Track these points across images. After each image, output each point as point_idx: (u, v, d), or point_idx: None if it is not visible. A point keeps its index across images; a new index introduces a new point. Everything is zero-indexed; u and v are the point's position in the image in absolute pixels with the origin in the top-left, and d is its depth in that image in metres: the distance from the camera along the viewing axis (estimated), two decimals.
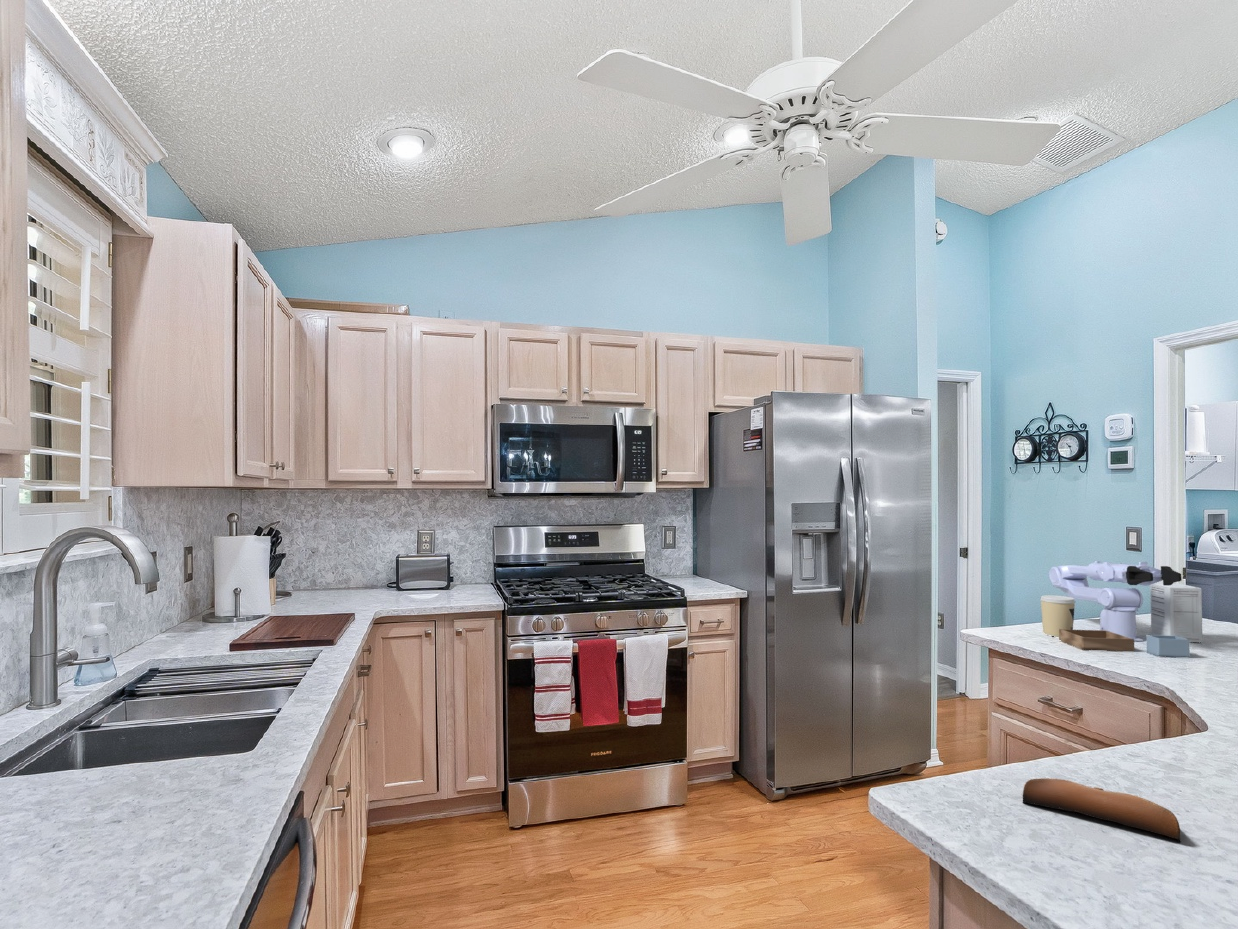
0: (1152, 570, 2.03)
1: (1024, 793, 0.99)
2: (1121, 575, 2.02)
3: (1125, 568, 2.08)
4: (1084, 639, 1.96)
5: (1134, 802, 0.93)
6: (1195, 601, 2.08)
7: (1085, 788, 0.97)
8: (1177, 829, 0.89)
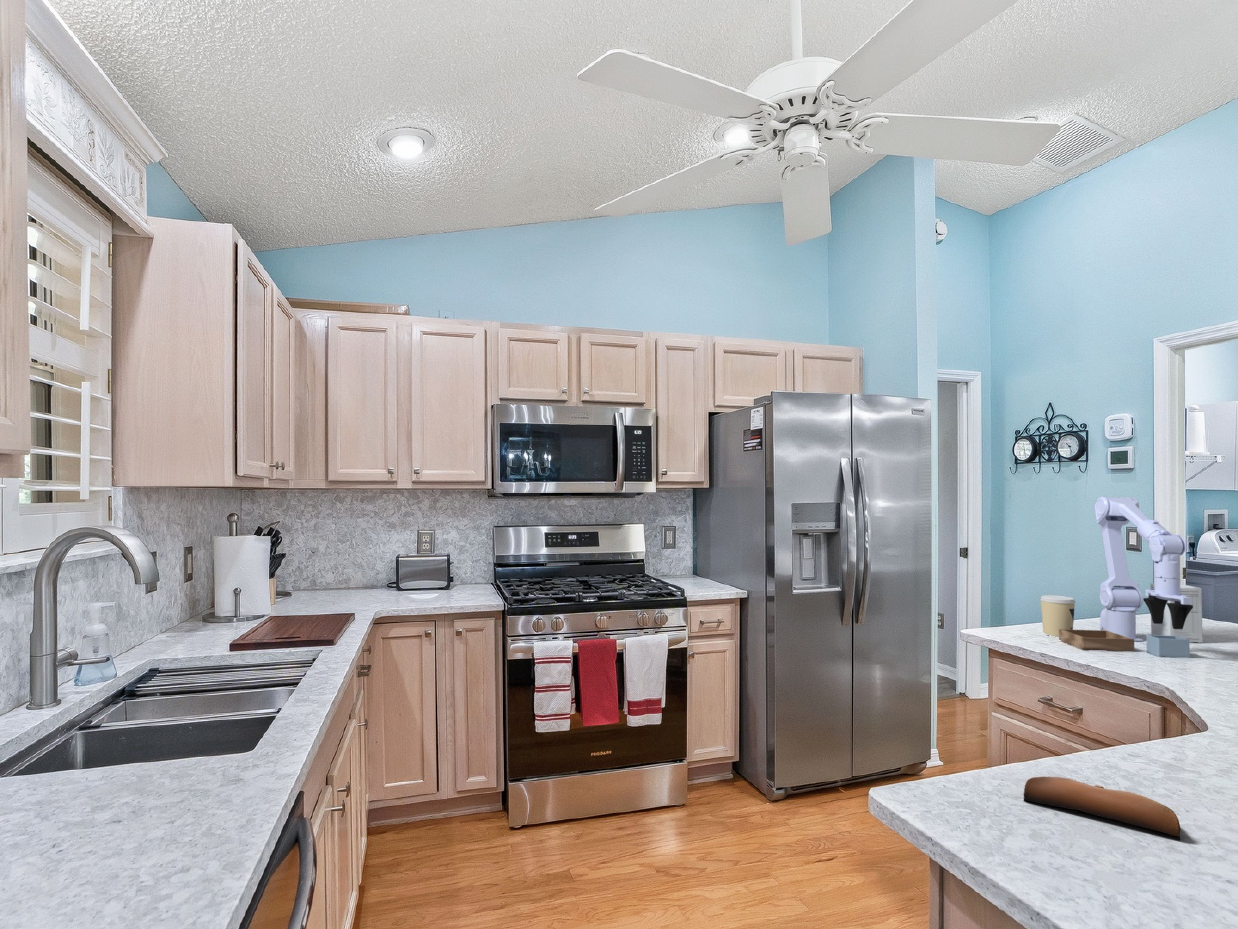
0: None
1: (1025, 791, 1.00)
2: None
3: None
4: (1084, 639, 1.96)
5: (1134, 800, 0.94)
6: (1195, 601, 2.08)
7: (1086, 786, 0.98)
8: (1177, 827, 0.90)
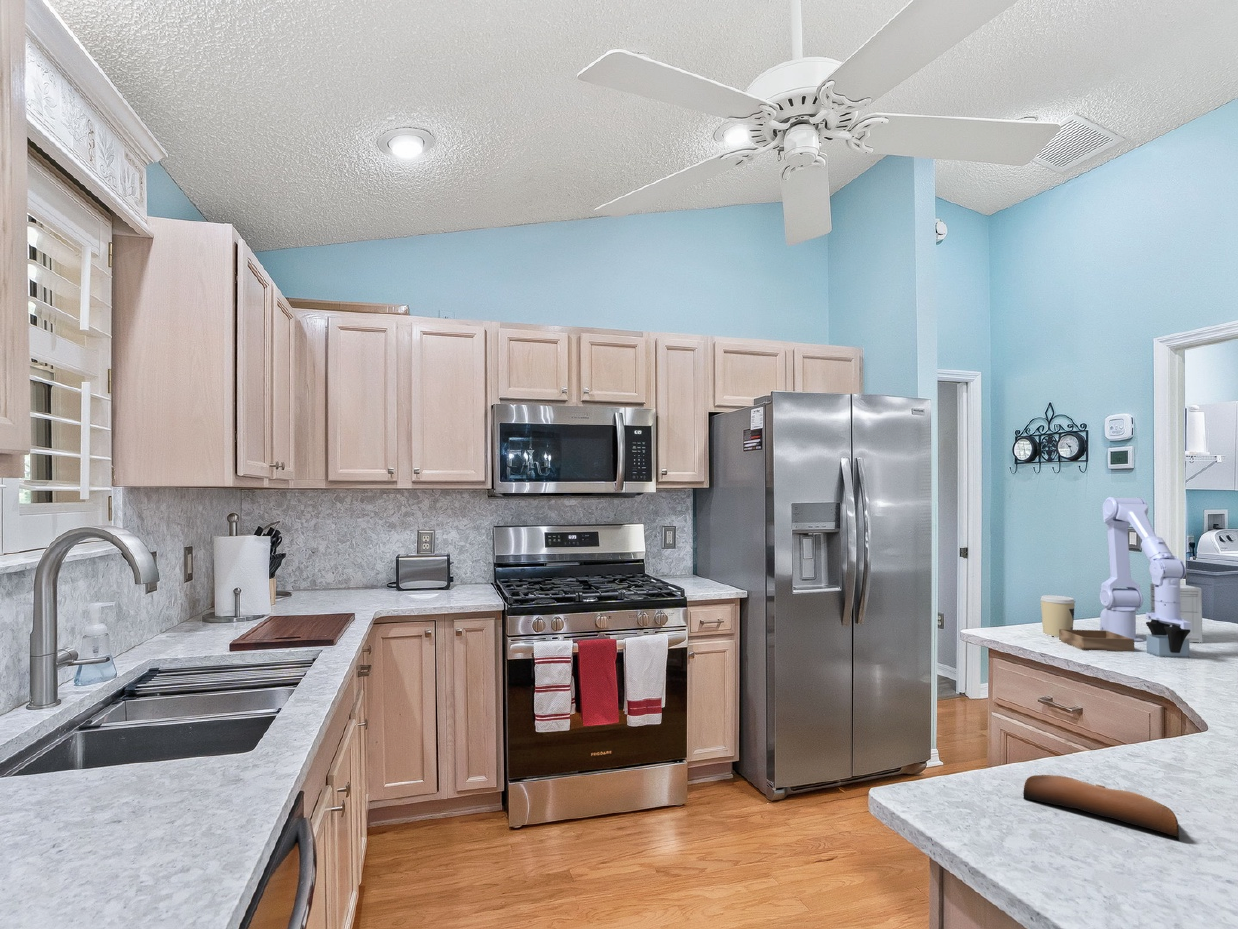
0: (1167, 621, 1.90)
1: (1025, 789, 1.01)
2: None
3: None
4: (1084, 639, 1.96)
5: (1134, 799, 0.94)
6: (1195, 601, 2.08)
7: (1086, 785, 0.98)
8: (1176, 826, 0.90)
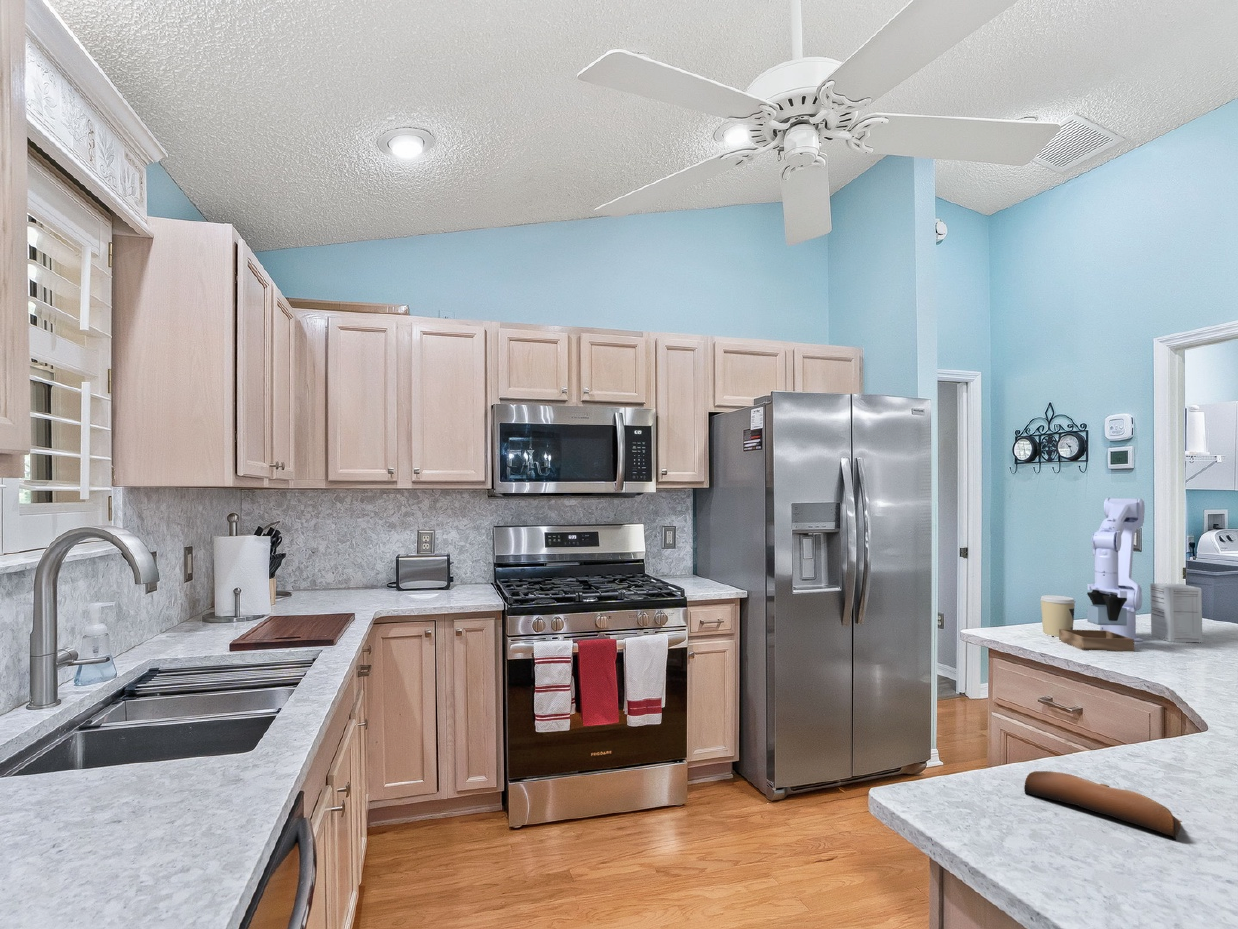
0: (1106, 591, 1.99)
1: (1026, 784, 1.03)
2: None
3: None
4: (1084, 639, 1.96)
5: (1133, 798, 0.94)
6: (1195, 601, 2.08)
7: (1087, 783, 0.99)
8: (1172, 826, 0.90)
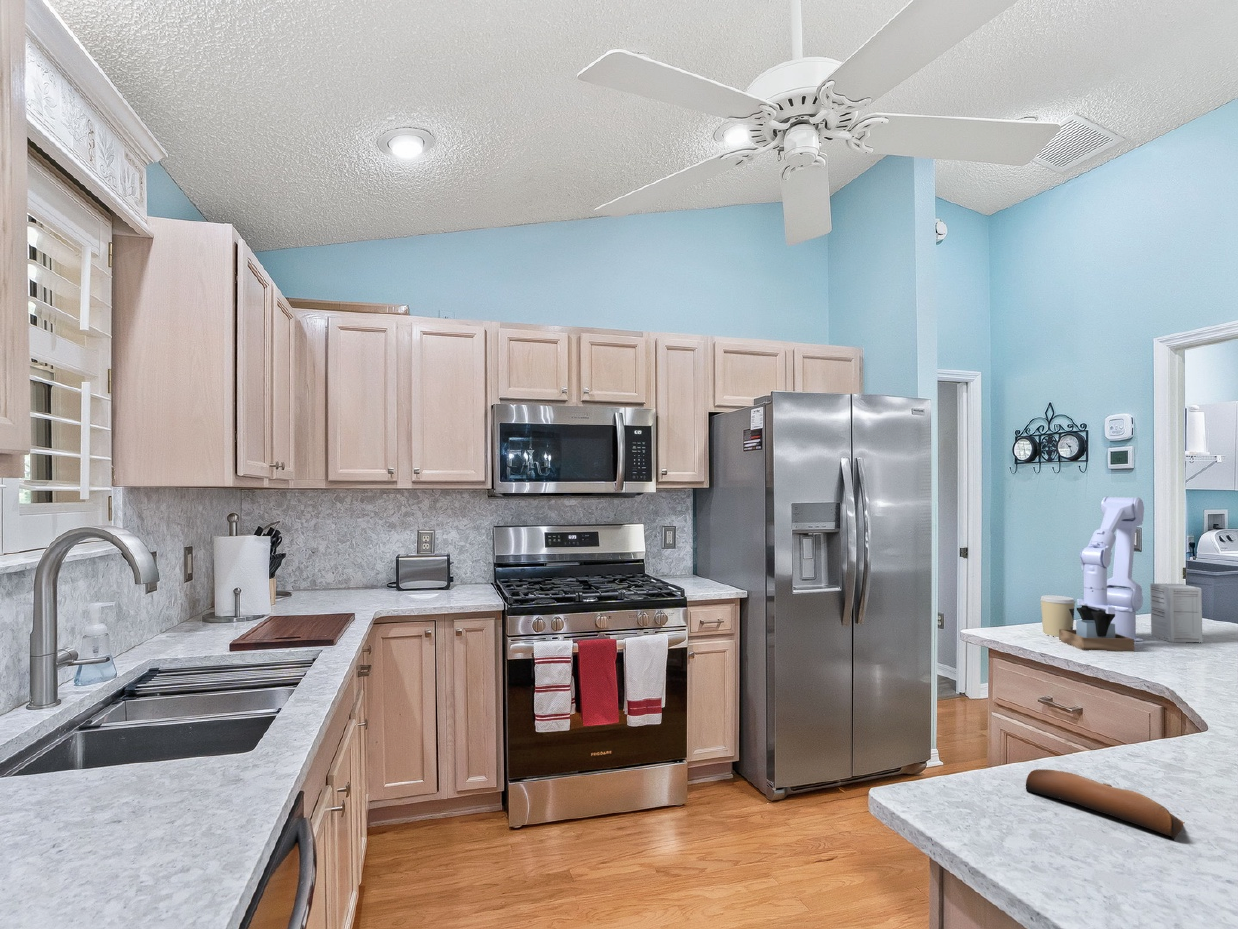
0: (1094, 606, 2.00)
1: (1027, 781, 1.03)
2: None
3: None
4: (1084, 639, 1.96)
5: (1132, 798, 0.94)
6: (1195, 601, 2.08)
7: (1088, 782, 0.99)
8: (1170, 826, 0.90)
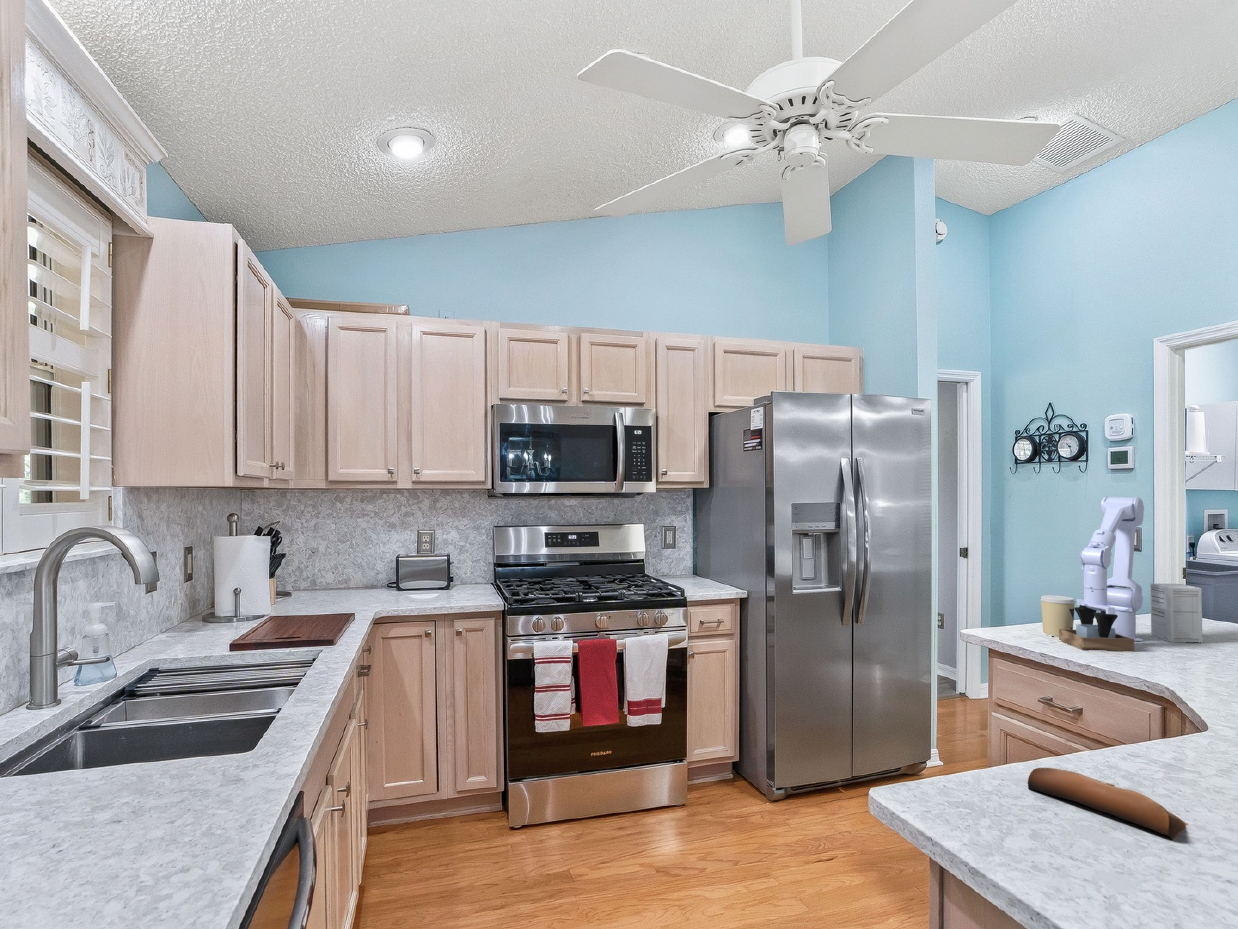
0: None
1: (1029, 779, 1.04)
2: None
3: None
4: (1084, 639, 1.96)
5: (1132, 797, 0.95)
6: (1195, 601, 2.08)
7: (1089, 780, 0.99)
8: (1167, 826, 0.90)
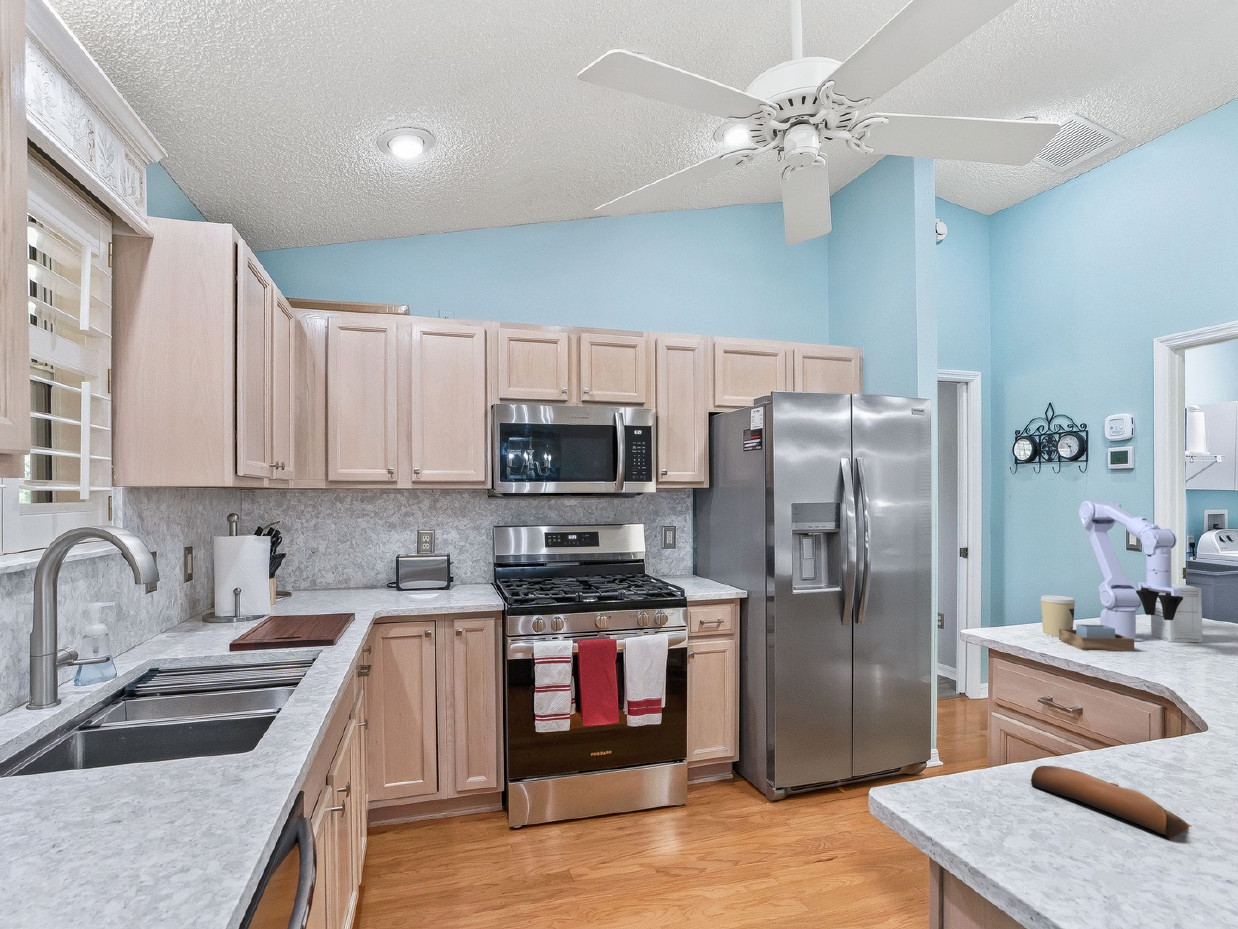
0: None
1: (1032, 777, 1.05)
2: None
3: None
4: (1084, 639, 1.96)
5: (1132, 796, 0.95)
6: (1195, 601, 2.08)
7: (1091, 779, 1.00)
8: (1164, 825, 0.90)
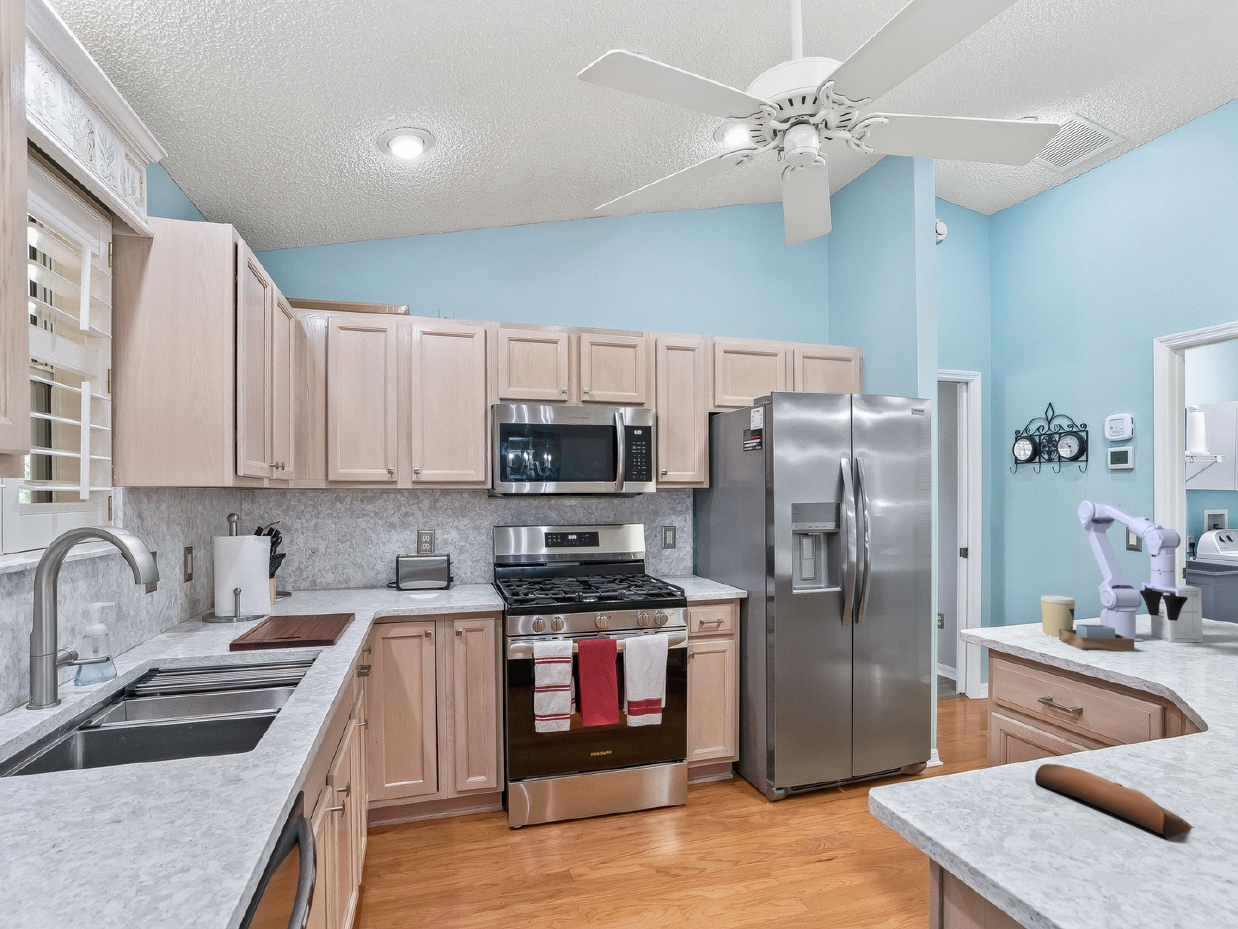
0: (1163, 589, 1.96)
1: (1036, 775, 1.06)
2: None
3: None
4: (1084, 639, 1.96)
5: (1132, 796, 0.95)
6: (1195, 601, 2.08)
7: (1094, 778, 1.00)
8: (1162, 825, 0.90)
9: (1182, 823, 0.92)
